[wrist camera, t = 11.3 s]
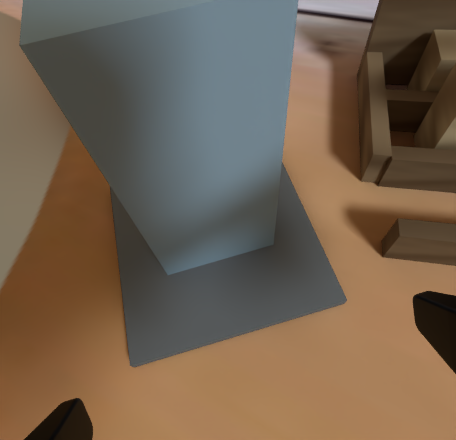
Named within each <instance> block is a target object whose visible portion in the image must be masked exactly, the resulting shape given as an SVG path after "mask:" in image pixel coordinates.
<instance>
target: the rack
mask: <svg viewBox="0 0 456 440" xmlns="http://www.w3.org/2000/svg"><path fill="white" fill-rule="evenodd" d="M434 30H456V0H379V3H378V7H377V10H376V13H375V17H374V20H373V23H372V27H371V30H370V33H369V37H368V40H367V44H366V47H365V50H364V54H363V57H362V60H361V64H360V67H359V70H358V74H357V78H358V107H359V135H360V164H361V181H364V182H375V183H378V186H384V187H395V188H406V189H418V190H429V191H441V192H452V193H456V150H444V149H430V148H416V147H402V146H391V139H390V130H391V131H407V132H417V130H418V128H419V126H420V125H421V123H422V121H423V119H424V118H425V116H426V114H427V112H428V111H429V109H430V107H431V105H432V104H433V102H434V100H435V98H436V96H437V95H438V93H439V92H437V91H416V90H394V89H386V87H385V84H399V85H409V83H410V81H411V78H412V76H413V74H414V72H415V70H416V68H417V65H418V63H419V61H420V59H421V57H422V55H423V52H424V50H425V48H426V46H427V44H428V42H429V39H430V37H431V35H432V33H433V31H434ZM382 253H383V257H386V258H395V259H403V260H412V261H420V262H429V263H437V264H446V265H454V266H456V224H449V223H439V222H429V221H419V220H409V219H400V218H398V219H397V221H396V222H395V223H394V225H393V226H392V227H391V229H390V230H389V231H388V233H387V234H386V236H385V237H384V238H383V240H382Z"/></svg>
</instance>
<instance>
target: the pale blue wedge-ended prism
mask: <svg viewBox="0 0 456 440" xmlns="http://www.w3.org/2000/svg"><path fill="white" fill-rule="evenodd" d="M297 8H298V0H23V7H22V19H21V32H20V47H21V49H22V50H23V52H24V53H25V55H26V56H27V58H28V59H29V61H30V63H31V64H32V66H33V67H34V68H35V70H36V72H37V73H38V75H39V76H40V78H41V79H42V81H43V83H44V84H45V86H46V87H47V89H48V90H49V92H50V93H51V95H52V97H53V98H54V100H55V101H56V103H57V104H58V106H59V107H60V109H61V111H62V112H63V113H64V115H65V117H66V118H67V120H68V121H69V123H70V124H71V126H72V128H73V129H74V131H75V132H76V134H77V135H78V137H79V138H80V140H81V141H82V143H83V145H84V146H85V148H86V149H87V151H88V152H89V154H90V155H91V157H92V159H93V160H94V162H95V163H96V165H97V166H98V168H99V169H100V171H101V172H102V174H103V176H104V177H105V179H106V180H107V182H108V183H109V185H110V186H111V188H112V189H113V191H114V193H115V194H116V196H117V197H118V199H119V200H120V202H121V203H122V205H123V207H124V208H125V210H126V211H127V213H128V214H129V216H130V217H131V219H132V220H133V222H134V224H135V225H136V227H137V228H138V230H139V231H140V233H141V234H142V236H143V237H144V239H145V241H146V242H147V244H148V245H149V247H150V248H151V250H152V251H153V253H154V255H155V256H156V258H157V259H158V261H159V262H160V264H161V265H162V267H163V268H164V270H165V272H166V273H167V275H170V274H174V273H177V272H181V271H184V270H187V269H191V268H194V267H198V266H201V265H205V264H208V263H212V262H215V261H219V260H222V259H225V258H229V257H232V256H236V255H239V254H243V253H246V252H250V251H253V250H257V249H260V248H263V247H267V246H270V245H273V244H274V234H275V225H276V215H277V205H278V195H279V185H280V175H281V165H282V155H283V146H284V136H285V126H286V116H287V106H288V96H289V86H290V77H291V67H292V57H293V47H294V37H295V27H296V17H297Z"/></svg>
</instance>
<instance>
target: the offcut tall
mask: <svg viewBox="0 0 456 440" xmlns="http://www.w3.org/2000/svg"><path fill="white" fill-rule="evenodd" d="M414 143H415V147H416V148H430V149H444V150H456V63H455V65H454V67H453V68H452V70H451V72H450V74H449V75H448V77H447V79H446V81H445V82H444V84H443V86H442V88H441V89H440V91H439V93H438V95H437V96H436V98H435V100H434V102H433V104H432V105H431V107H430V109H429V111H428V112H427V114H426V116H425V118H424V119H423V121H422V123H421V125H420V126H419V128H418V130H417V132H416V133H415V135H414Z"/></svg>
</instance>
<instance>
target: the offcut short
mask: <svg viewBox="0 0 456 440" xmlns="http://www.w3.org/2000/svg"><path fill="white" fill-rule="evenodd" d="M455 63H456V30H434V31H433V33H432V35H431V37H430V39H429V42H428V44H427V46H426V48H425V50H424V52H423V55H422V57H421V59H420V61H419V63H418V65H417V68H416V70H415V72H414V74H413V76H412V78H411V81H410V83H409V85H408V87H407V90H416V91H437V92H439V91H440V89H441V88H442V86H443V84H444V82H445V81H446V79H447V77H448V75H449V74H450V72H451V70H452V68H453V67H454V65H455Z"/></svg>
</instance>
